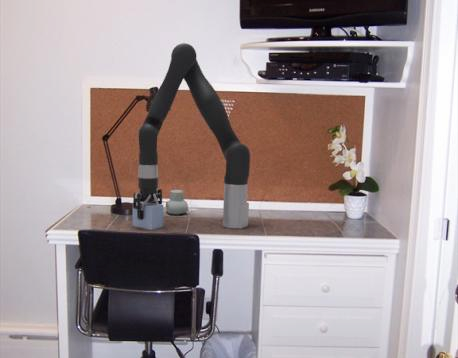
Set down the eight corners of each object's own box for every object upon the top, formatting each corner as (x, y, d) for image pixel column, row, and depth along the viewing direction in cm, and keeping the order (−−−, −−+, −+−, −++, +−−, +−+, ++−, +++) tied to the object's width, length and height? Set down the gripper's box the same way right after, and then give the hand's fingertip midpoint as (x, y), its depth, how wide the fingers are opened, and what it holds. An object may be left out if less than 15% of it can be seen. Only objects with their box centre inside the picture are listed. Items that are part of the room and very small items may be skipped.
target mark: (164, 226, 199) (164, 226, 199) (151, 230, 192) (151, 230, 192) (144, 222, 204) (144, 222, 204) (131, 226, 197) (131, 226, 197)
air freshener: (164, 211, 227) (165, 189, 225) (183, 210, 229) (183, 188, 228) (169, 216, 217) (170, 193, 215) (188, 215, 219) (189, 192, 218)
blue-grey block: (163, 226, 198) (163, 204, 197) (151, 230, 193) (152, 207, 191) (144, 223, 203) (144, 201, 202) (132, 226, 198) (132, 204, 196)
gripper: (143, 179, 187) (143, 222, 189) (167, 175, 199) (167, 215, 201) (128, 177, 191) (127, 219, 193) (152, 173, 203) (152, 213, 205)
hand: (147, 217), depth 197 cm, fingers open, 8 cm apart
